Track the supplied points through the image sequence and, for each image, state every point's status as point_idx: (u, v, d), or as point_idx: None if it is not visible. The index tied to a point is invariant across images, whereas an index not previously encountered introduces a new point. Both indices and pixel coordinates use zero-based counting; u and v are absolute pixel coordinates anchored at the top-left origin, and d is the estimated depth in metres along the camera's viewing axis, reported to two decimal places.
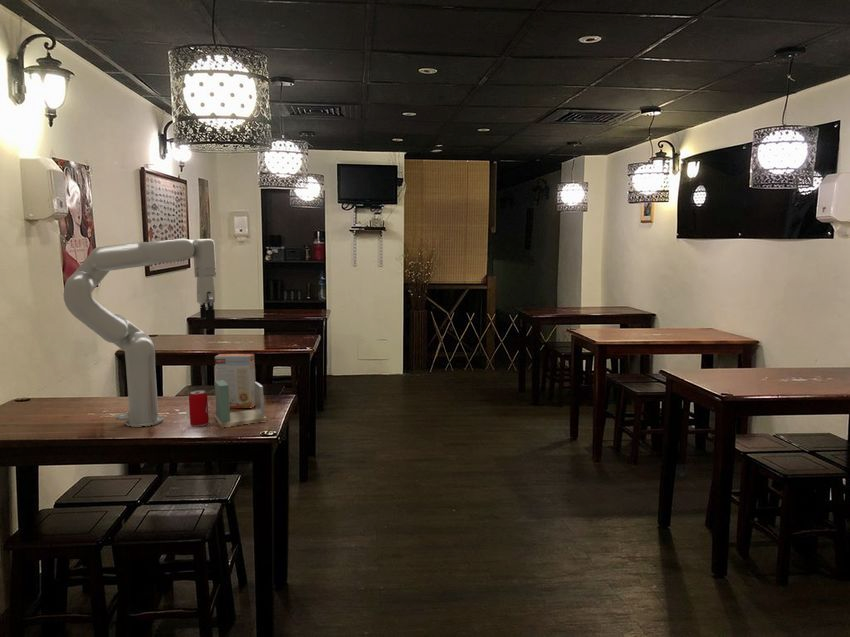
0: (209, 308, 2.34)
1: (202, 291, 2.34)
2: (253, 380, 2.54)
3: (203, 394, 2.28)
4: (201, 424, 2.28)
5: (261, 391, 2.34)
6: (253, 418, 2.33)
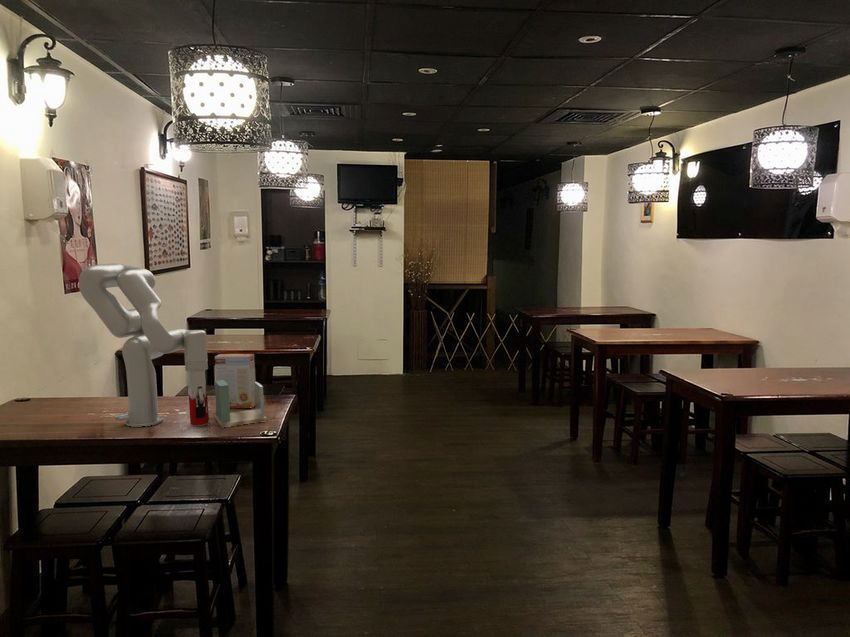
0: (199, 405, 2.25)
1: (193, 386, 2.24)
2: (253, 380, 2.54)
3: None
4: (201, 424, 2.28)
5: (261, 391, 2.34)
6: (253, 418, 2.33)
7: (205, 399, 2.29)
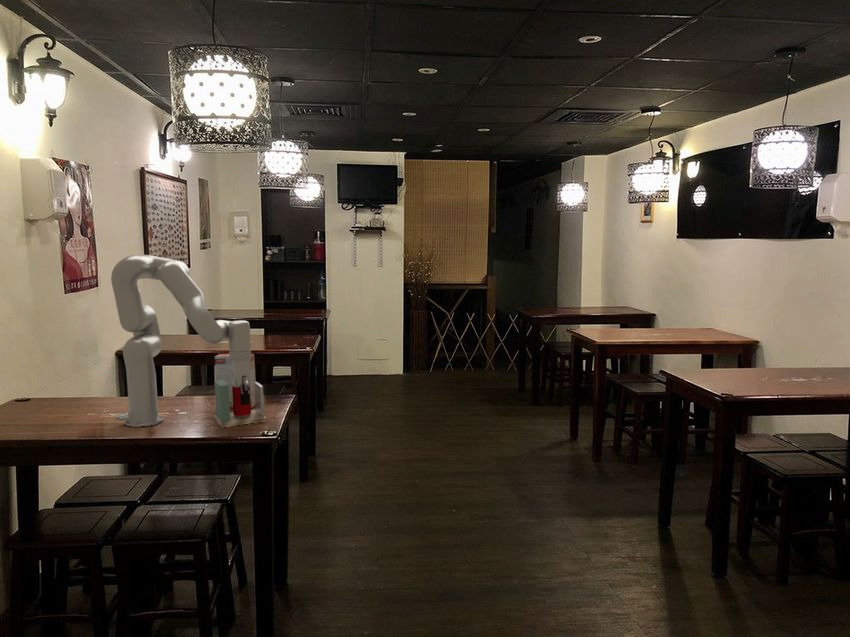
0: (244, 392, 2.30)
1: (237, 375, 2.30)
2: (253, 380, 2.54)
3: None
4: (244, 415, 2.34)
5: (261, 391, 2.34)
6: (253, 418, 2.33)
7: None
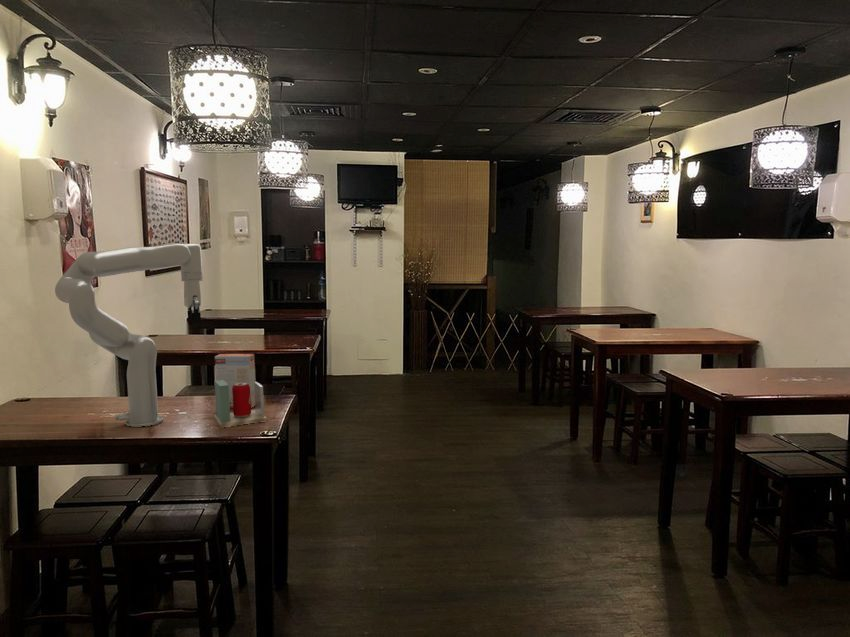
0: (195, 311, 2.40)
1: (188, 295, 2.40)
2: (253, 380, 2.54)
3: (246, 385, 2.34)
4: (244, 415, 2.34)
5: (261, 391, 2.34)
6: (253, 418, 2.33)
7: (248, 390, 2.35)
